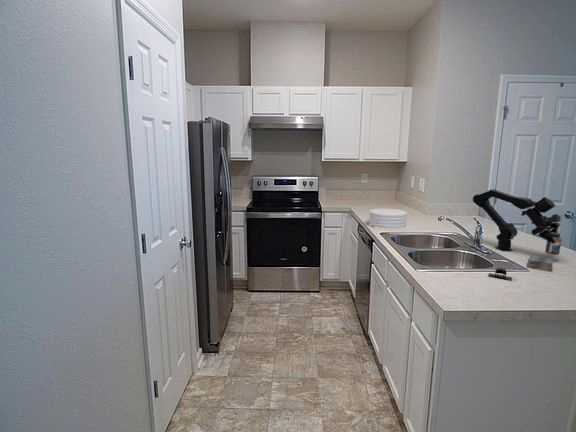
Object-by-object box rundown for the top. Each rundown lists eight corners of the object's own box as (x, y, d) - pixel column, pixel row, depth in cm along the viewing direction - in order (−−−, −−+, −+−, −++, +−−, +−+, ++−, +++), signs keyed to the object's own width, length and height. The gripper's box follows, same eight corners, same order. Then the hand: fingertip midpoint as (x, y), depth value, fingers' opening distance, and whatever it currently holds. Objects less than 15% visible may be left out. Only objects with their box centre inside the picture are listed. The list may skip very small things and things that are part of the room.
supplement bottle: (544, 251, 180) (547, 231, 178) (558, 252, 177) (561, 232, 175) (545, 254, 175) (549, 233, 173) (560, 255, 172) (563, 235, 170)
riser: (526, 267, 167) (527, 259, 167) (528, 262, 175) (529, 255, 174) (551, 272, 161) (552, 264, 160) (552, 266, 169) (553, 259, 168)
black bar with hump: (484, 277, 156) (485, 268, 155) (485, 273, 161) (486, 264, 161) (516, 283, 149) (517, 274, 148) (515, 278, 155) (517, 269, 154)
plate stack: (375, 230, 244) (376, 215, 242) (364, 222, 272) (364, 208, 269) (412, 229, 246) (413, 214, 244) (397, 221, 274) (398, 208, 271)
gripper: (541, 210, 170) (563, 236, 163) (558, 207, 179) (580, 231, 172) (522, 222, 179) (542, 247, 172) (540, 219, 188) (559, 242, 181)
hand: (557, 242), depth 174 cm, fingers closed on supplement bottle, 6 cm apart
